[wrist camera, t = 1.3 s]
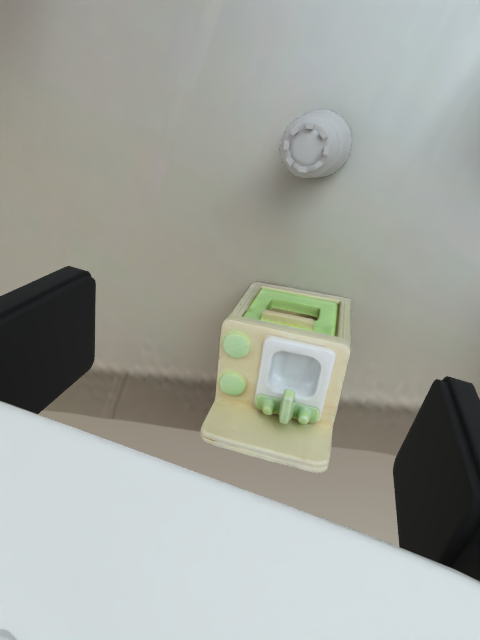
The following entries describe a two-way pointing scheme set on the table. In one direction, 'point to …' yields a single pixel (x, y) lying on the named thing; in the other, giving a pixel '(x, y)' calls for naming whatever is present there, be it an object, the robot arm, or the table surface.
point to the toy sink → (281, 376)
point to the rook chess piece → (316, 144)
